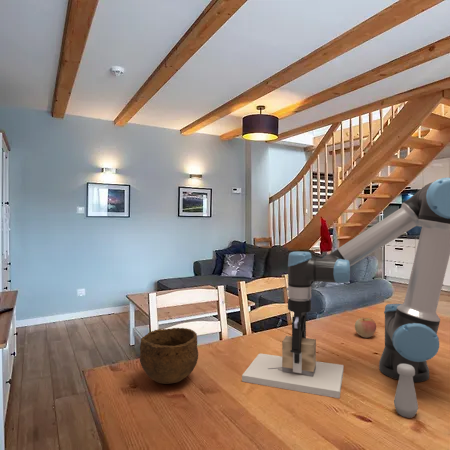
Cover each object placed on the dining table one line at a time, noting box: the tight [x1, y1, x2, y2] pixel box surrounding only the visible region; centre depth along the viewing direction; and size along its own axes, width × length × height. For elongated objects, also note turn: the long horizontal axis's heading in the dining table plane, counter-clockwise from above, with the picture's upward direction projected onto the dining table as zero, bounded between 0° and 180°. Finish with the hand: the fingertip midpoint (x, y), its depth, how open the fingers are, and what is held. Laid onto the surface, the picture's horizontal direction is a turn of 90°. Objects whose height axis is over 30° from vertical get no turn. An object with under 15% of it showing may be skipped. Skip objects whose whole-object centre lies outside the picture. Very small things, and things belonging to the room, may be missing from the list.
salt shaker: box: [393, 364, 419, 419], centre depth 94 cm, size 6×6×13 cm
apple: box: [354, 317, 377, 339], centre depth 156 cm, size 9×9×8 cm
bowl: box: [139, 327, 199, 385], centre depth 114 cm, size 19×19×15 cm
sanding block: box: [281, 335, 317, 376], centre depth 116 cm, size 10×6×10 cm, turn 68°
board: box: [241, 353, 345, 399], centre depth 117 cm, size 30×20×2 cm, turn 68°
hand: (299, 367), depth 116 cm, fingers closed on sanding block, 6 cm apart
